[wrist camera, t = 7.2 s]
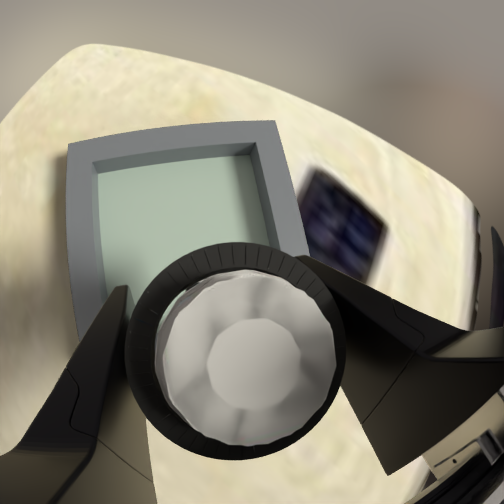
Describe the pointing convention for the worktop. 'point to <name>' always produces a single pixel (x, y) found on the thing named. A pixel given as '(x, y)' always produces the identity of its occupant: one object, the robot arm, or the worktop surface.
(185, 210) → the dock
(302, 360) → the push button
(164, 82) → the worktop surface
